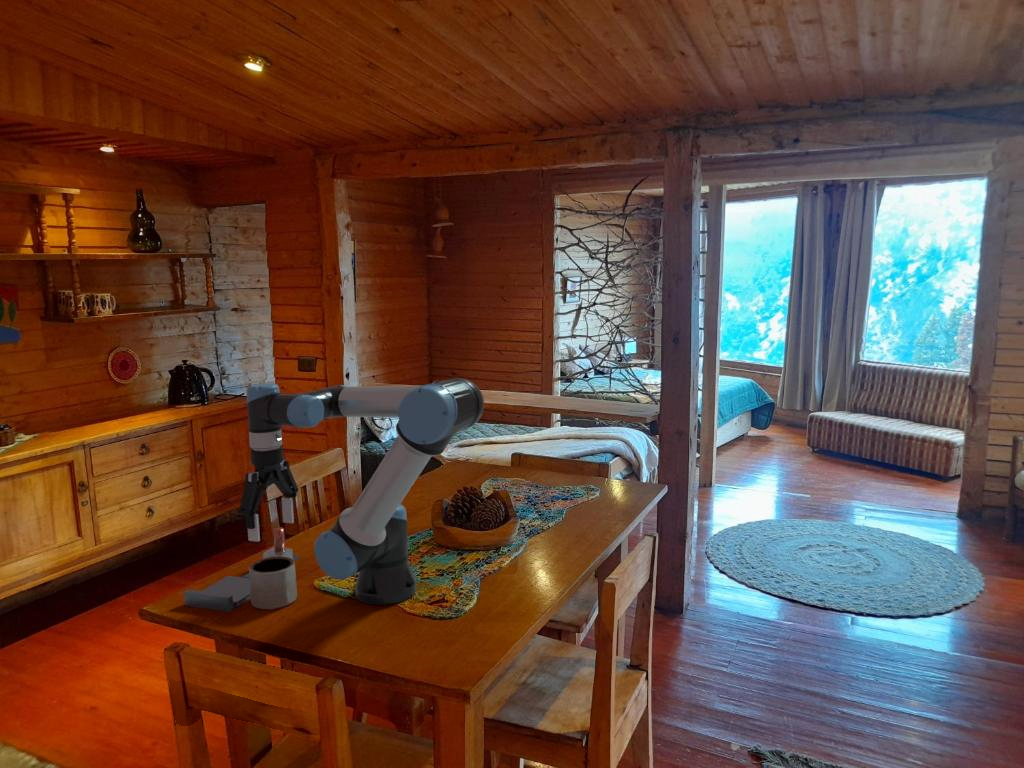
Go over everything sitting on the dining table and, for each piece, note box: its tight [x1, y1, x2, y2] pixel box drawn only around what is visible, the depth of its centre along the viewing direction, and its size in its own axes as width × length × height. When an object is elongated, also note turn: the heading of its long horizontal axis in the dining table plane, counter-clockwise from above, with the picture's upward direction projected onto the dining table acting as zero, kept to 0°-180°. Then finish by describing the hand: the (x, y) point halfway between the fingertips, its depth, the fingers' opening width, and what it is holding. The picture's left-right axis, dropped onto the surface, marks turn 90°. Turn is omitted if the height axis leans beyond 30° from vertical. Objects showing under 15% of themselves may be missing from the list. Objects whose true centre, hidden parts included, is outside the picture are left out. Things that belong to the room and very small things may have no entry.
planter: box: [248, 557, 298, 611], centre depth 180 cm, size 11×11×10 cm
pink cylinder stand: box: [262, 526, 294, 559], centre depth 201 cm, size 9×6×9 cm, turn 162°
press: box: [183, 555, 301, 613], centre depth 193 cm, size 34×13×4 cm, turn 162°
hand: (272, 531), depth 180 cm, fingers open, 13 cm apart
